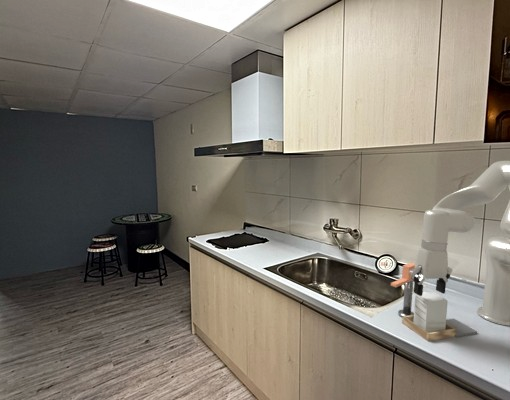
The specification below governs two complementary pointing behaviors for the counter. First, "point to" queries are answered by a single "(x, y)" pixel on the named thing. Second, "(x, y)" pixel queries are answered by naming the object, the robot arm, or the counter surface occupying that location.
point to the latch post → (407, 300)
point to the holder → (431, 336)
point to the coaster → (460, 328)
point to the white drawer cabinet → (430, 312)
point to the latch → (404, 275)
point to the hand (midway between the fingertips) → (429, 293)
